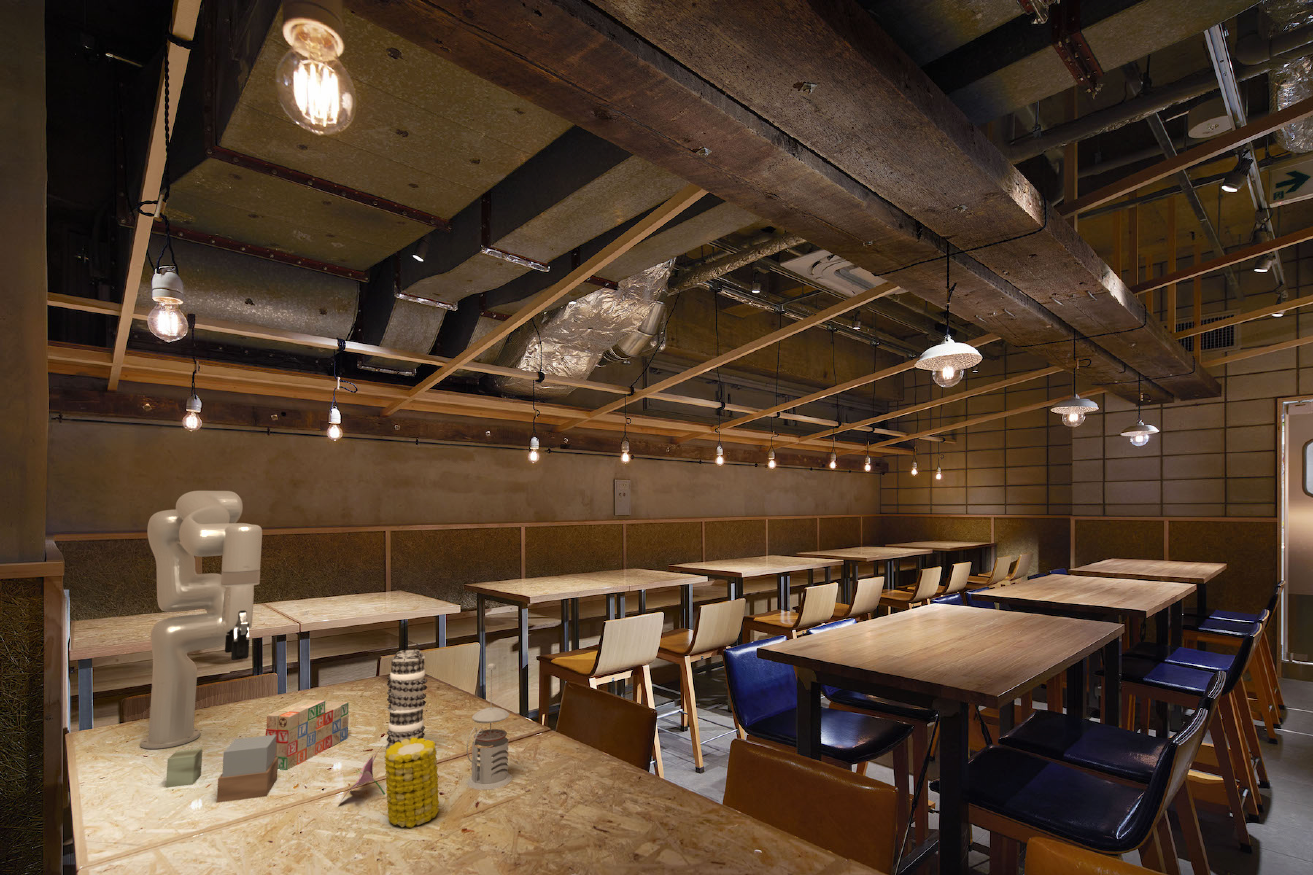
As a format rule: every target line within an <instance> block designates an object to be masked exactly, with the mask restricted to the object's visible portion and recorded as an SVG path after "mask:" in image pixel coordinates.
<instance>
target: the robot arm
mask: <svg viewBox="0 0 1313 875" xmlns="http://www.w3.org/2000/svg"><path fill="white" fill-rule="evenodd" d="M243 507H244V506H243V500H242V498H241V497H240V496H239V495H238V494H237V493H236V492H234V491H231V490H193V491H189V492H186V493H183V494H182V495H180V496H179V498H178V499H177V501H176V502H175V509H166V510H161V511H157V512H155V513H153V515H151V516H150V518H149V520H148V523H147V538H148V543H149V547H150V549H151V551H152V553H153V556H154V559H155V564H156V597H157V598H156V600H157V605H158V608H159V609H160V610H161V611H162V612H166V613H175V612H185V611H195V610H205V611H206V613H197V614H196V613H195V614H186V615H179V616H172V617H167V618H164V619H161V620H159V621H158V622H157V623H155V624H154V625H153V627H152V629H151V632H150V643H151V652H152V653H151V654H152V675H151V676H152V678H151V691H150V692H151V693H150V694H151V695H150V709H149V720H148V721H149V723H148V735H146V736H145V737H143V738H142V739H141V740H140V743H139V746H140V747H141V748H143V749H147V750H148V749H149V750H151V749H154V750H155V749H156V750H157V749H166V748H172V747H177V746H181V745H184V744H187V743H190V742H194V741H195V740H197V739H198V738H200V736H201V733H202V732H201V729H199V728H195V711H196V699H197V698H196V696H197V680H198V668H197V665H196V663H195V662H194V661H193V660H192V659H191V658H190V657H189V656H188V653H192V652H194V651H195V652H196V651H202V650H203V651H204V650H208V649H215V648H220V647H222V646H224V652H225V653H226V654H229V653H231V654H230V658H231V661H238V660H247V659H248V658H249V655H250V632H249V630H250V629H251V628H252V626H253V617H254V598H255V597H254V596H255V586H258V585H260V582H261V581H260V580H261V561H262V560H261V559H262V544H263V541H262V540H263V539H262V538H263V529H262V527H261V526H260V525H258V524H250V523H243V522H238V521H239V520H240V518H241V516H242V514H243ZM215 556H216V557H218V556H220V557H221V556H222V561H221V573H211V572H210V573H197V571H196V559H195V557H199V558H201V557H204V558H205V557H215Z"/></svg>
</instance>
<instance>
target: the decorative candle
mask: <svg viewBox="0 0 1313 875" xmlns="http://www.w3.org/2000/svg"><path fill="white" fill-rule="evenodd" d="M426 657H427V656H426V655H425V654H423V652H422V651H421V650H419V649H404V650H400V651H398V652H396V653H395V654H394V656H393V657H391V659H390V661H391V663H390V664H391V667H390V668H391V669H390V675H389V676H387V679H386V680H388V681H387V683H386V685H387V687H388V690H387V692H386V694H387V695H388V696H387V699H386V701H388V706H387V711H388V712H389V722H388V729H387V731H386V734H387V737H386V741H387V744H386V746H385V749H389V747H390V746H391V745H394V744H395V743H396V742H400V743H401V741H403V740H404V739H409V740H410V739H411V738H412V737H415V738H418V739H420V738H424V737H425V734H426V733H425V732H424V731H425V729H426V727H425V724H424V720H425V718H424V716H423V715H424V709H425V707H426V703H427V701H426V700H424V699H425V698H427V694H426V693H424V691H425V690H427V689H428V686H427V685H425V684H427V683H428V679H427V678H426V677H425V676H426V669H425V659H426Z"/></svg>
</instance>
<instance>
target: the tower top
mask: <svg viewBox="0 0 1313 875" xmlns="http://www.w3.org/2000/svg"><path fill="white" fill-rule="evenodd" d="M275 755H276V735H269V736H266V735H261V736H251V737H243V738H235V739H234V740H233V741H232V742H231V743H230V744H229V745H228V747H227V748H226V749H225V750H224V751H223V757H222V773H221V774H222V777H229V776H237V775H245V774H254V773H262V772H266V771H267V770H268V768H269V767H270V765H271V764H272V762H273V761H274V759H275Z"/></svg>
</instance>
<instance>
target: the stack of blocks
mask: <svg viewBox="0 0 1313 875" xmlns="http://www.w3.org/2000/svg"><path fill="white" fill-rule="evenodd" d="M349 717H350V715H349V702H348V701H330V700H329V701H326V700H324V699H323V700H321V699H319V700H318V699H301V700H300V701H298V702H296V703H292V704H290V705H288V706H286V707H284V708H282V709H279V710H276V711H274V712H272V713H269V714H267V715H266V728H265V736H269V735H276V755H275V757H278V769H280V770H281V771H288V769H289V770H291V769H292V768H294V767H296V766H298V765H300V764H302V763H304V762H306V761H308V760H309V759H312V758H314V757H316V756H318V753H319V754H321V753H323V752H324V751H325V750H328V749H329V747H330V748H331V747H333V746H335V745H338V743H339V744H340V743H341V742H343V741H345V740H346V739H348V736H349V719H350V718H349ZM344 739H345V740H344ZM313 756H314V757H313Z"/></svg>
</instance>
